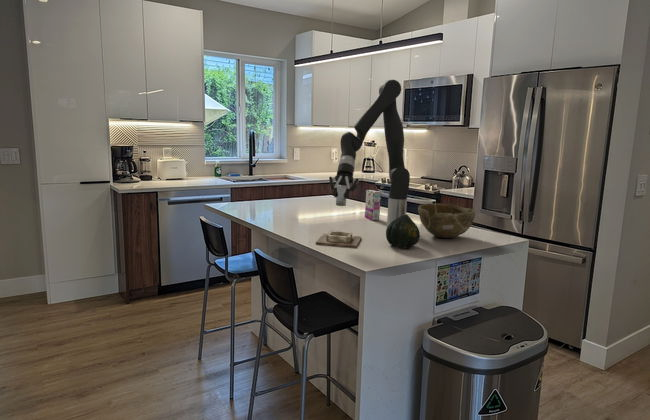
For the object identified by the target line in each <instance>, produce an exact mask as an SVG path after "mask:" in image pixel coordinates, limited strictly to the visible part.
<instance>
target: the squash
mask: <svg viewBox="0 0 650 420" xmlns="http://www.w3.org/2000/svg"><path fill="white" fill-rule="evenodd" d="M420 234H421V233H420V229H419V227H418V226H417V224H416V223H415V222H414V221H413V219H412V218H411V216H409V215H408V214H407V213H406V215H402V216H400V217H398V218H396V219H395V220H393V221H392V222H391V223H390V224H389V225H388V227H387V226H386V229H385V238H386V241H387V243H389V245H391V246H394V247H395V246H398V248H400V249H402V250H403V249H410V248H412V247H413V246H416V245H417V244H418V242H419V240H420V236H421V235H420Z"/></svg>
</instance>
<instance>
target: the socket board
mask: <svg viewBox="0 0 650 420" xmlns="http://www.w3.org/2000/svg"><path fill="white" fill-rule="evenodd" d="M361 240H362V236H361V235H360V236H358V235H353V232H351V231H342V230H330V231H328V233H326V232H325V233H323V234H322V235H321V236H320V237H319V238H318V239H317V240H316V241H315V245H318V246H319V245H320V246H331V247H339V248H340V247H341V248H353V249H356V248H357V247H358V245H359V243H360V242H361Z"/></svg>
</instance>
